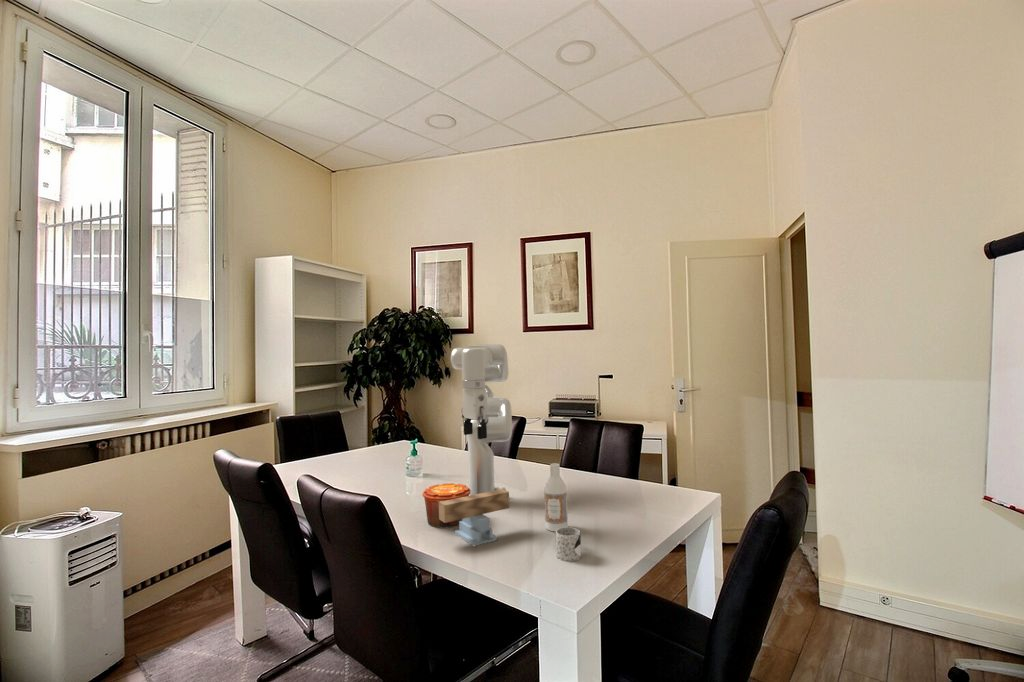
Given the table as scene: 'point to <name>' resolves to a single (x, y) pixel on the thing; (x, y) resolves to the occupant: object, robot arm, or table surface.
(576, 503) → the table surface
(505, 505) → the light brown wooden bar
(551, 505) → the bath foam
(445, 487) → the food container
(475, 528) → the light blue stepped block
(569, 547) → the mug
